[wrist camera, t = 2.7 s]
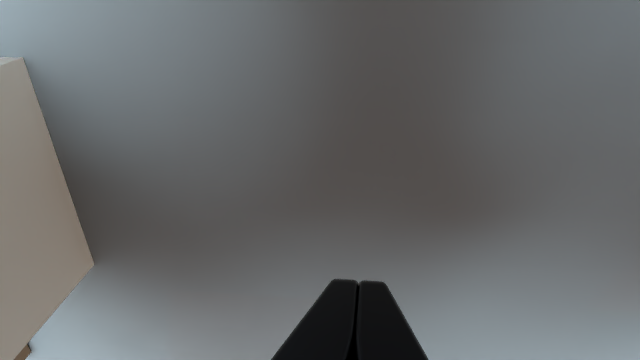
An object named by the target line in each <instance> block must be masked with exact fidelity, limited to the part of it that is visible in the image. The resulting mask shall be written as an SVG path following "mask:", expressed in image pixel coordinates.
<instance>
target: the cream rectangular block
mask: <svg viewBox="0 0 640 360" xmlns="http://www.w3.org/2000/svg"><path fill="white" fill-rule="evenodd" d="M93 266H94V262H93V259H92V256H91V253H90V250H89V247H88V245H87V242H86V239H85V236H84V233H83V230H82V227H81V224H80V221H79V219H78V216H77V213H76V210H75V207H74V204H73V201H72V198H71V195H70V192H69V190H68V187H67V184H66V181H65V178H64V175H63V172H62V169H61V166H60V164H59V161H58V158H57V155H56V152H55V149H54V146H53V143H52V140H51V137H50V135H49V132H48V129H47V126H46V123H45V120H44V117H43V114H42V111H41V109H40V106H39V103H38V100H37V97H36V94H35V91H34V88H33V85H32V82H31V80H30V77H29V74H28V71H27V68H26V65H25V62H24V59H23V57H0V360H14V359H15V357H16V356H17V355H18V354H19V353H20V351H21V350H22V349H23V348H24V347H25V346H26V344H27V343H28V342H29V341H30V340H31V339H32V337H33V336H34V335H35V334H36V333H37V331H38V330H39V329H40V328H41V327H42V326H43V324H44V323H45V322H46V321H47V320H48V319H49V317H50V316H51V315H52V314H53V313H54V312H55V310H56V309H57V308H58V307H59V306H60V304H61V303H62V302H63V301H64V300H65V299H66V297H67V296H68V295H69V294H70V293H71V292H72V290H73V289H74V288H75V287H76V286H77V285H78V283H79V282H80V281H81V280H82V279H83V277H84V276H85V275H86V274H87V273H88V272H89V270H90V269H91V268H92V267H93Z"/></svg>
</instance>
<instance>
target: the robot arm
mask: <svg viewBox="0 0 640 360" xmlns="http://www.w3.org/2000/svg"><path fill="white" fill-rule="evenodd" d="M271 360H428V358H427V356H426V354H425V352H424V351H423V349H422V347H421V345H420V344H419V342H418V340H417V338H416V336H415V335H414V333H413V331H412V329H411V328H410V326H409V324H408V322H407V320H406V319H405V317H404V315H403V313H402V311H401V310H400V308H399V306H398V304H397V303H396V301H395V299H394V297H393V295H392V294H391V292H390V290H389V288H388V287H387V285H386V284H385V283H384V282H382V281H365V280H363V281H361V282H360V283H359V286H358V282H357V281H356V280H347V279H334V280H332V281H331V282H330V283H329V285H328V286H327V287H326V289H325V290H324V291H323V292H322V294H321V295H320V296H319V298H318V299H317V300H316V302H315V303H314V304H313V306H312V307H311V308H310V309H309V311H308V312H307V313H306V315H305V316H304V317H303V319H302V320H301V321H300V323H299V324H298V325H297V326H296V328H295V329H294V330H293V332H292V333H291V334H290V336H289V337H288V338H287V340H286V341H285V342H284V343H283V345H282V346H281V347H280V349H279V350H278V351H277V353H276V354H275V355H274V357H273V358H272V359H271Z"/></svg>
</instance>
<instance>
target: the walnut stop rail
mask: <svg viewBox="0 0 640 360" xmlns="http://www.w3.org/2000/svg"><path fill="white" fill-rule="evenodd" d="M30 353H31V351H30V349H29V347H28V345H27V344H26V346H25V347H24V348H23V349H22V350H21V351H20V353H19V354H18V355H17V356H16V357H15V359H14V360H25V359H26V358H27V356H28V355H29V354H30Z"/></svg>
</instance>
